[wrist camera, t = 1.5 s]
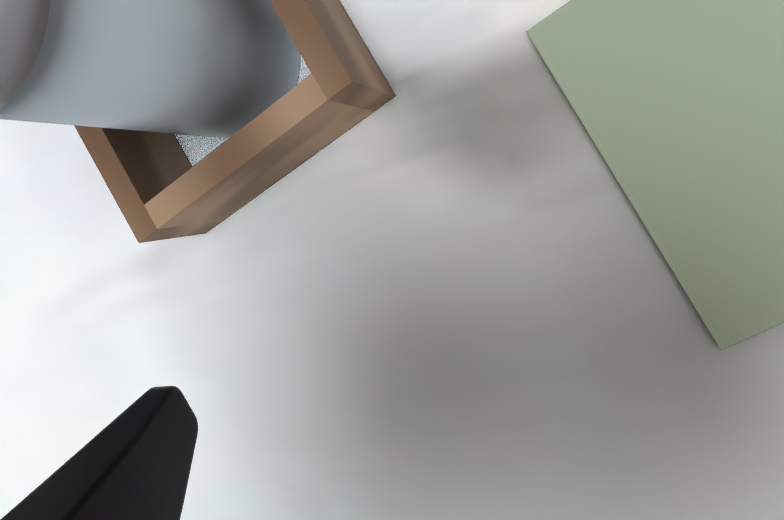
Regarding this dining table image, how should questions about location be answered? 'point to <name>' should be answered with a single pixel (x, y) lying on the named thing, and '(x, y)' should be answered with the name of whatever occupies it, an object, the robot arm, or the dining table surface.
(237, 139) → the walnut collar
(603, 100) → the rubber mat
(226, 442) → the dining table surface
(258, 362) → the dining table surface
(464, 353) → the dining table surface
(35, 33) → the parts canister
